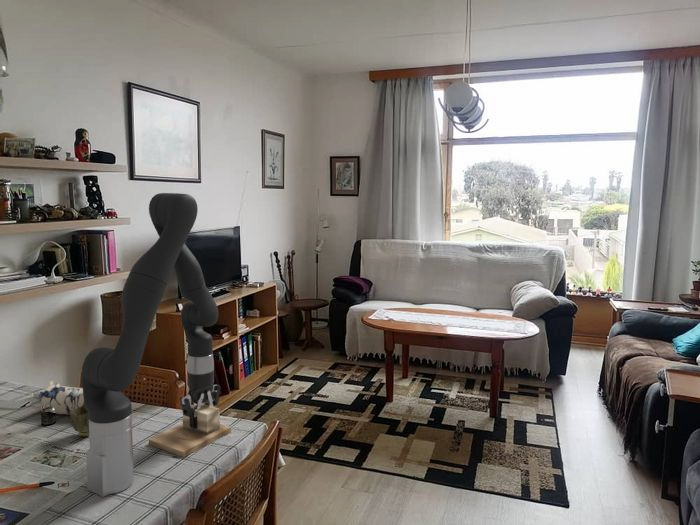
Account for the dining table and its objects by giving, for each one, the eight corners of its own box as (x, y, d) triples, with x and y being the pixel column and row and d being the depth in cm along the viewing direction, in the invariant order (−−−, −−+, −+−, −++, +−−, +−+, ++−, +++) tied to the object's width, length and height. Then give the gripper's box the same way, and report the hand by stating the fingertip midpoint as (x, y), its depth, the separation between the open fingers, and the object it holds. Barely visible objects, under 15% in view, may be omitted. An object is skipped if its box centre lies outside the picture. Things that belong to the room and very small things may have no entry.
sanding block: (207, 434, 144) (206, 414, 143) (182, 426, 149) (182, 407, 148) (219, 428, 148) (219, 408, 147) (195, 420, 153) (195, 401, 152)
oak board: (183, 457, 134) (183, 451, 134) (148, 444, 141) (148, 439, 141) (231, 432, 149) (231, 427, 149) (197, 421, 156) (197, 416, 156)
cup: (105, 430, 149) (104, 404, 148) (89, 441, 141) (88, 414, 141) (81, 428, 149) (80, 403, 149) (65, 440, 142) (63, 413, 141)
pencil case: (37, 417, 157) (35, 387, 156) (55, 406, 166) (54, 378, 165) (102, 421, 155) (101, 391, 154) (118, 410, 164) (117, 381, 163)
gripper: (190, 378, 138) (191, 437, 140) (227, 364, 151) (228, 419, 152) (171, 373, 142) (173, 430, 144) (209, 360, 154) (210, 413, 156)
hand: (201, 424), depth 148 cm, fingers closed on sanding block, 5 cm apart
